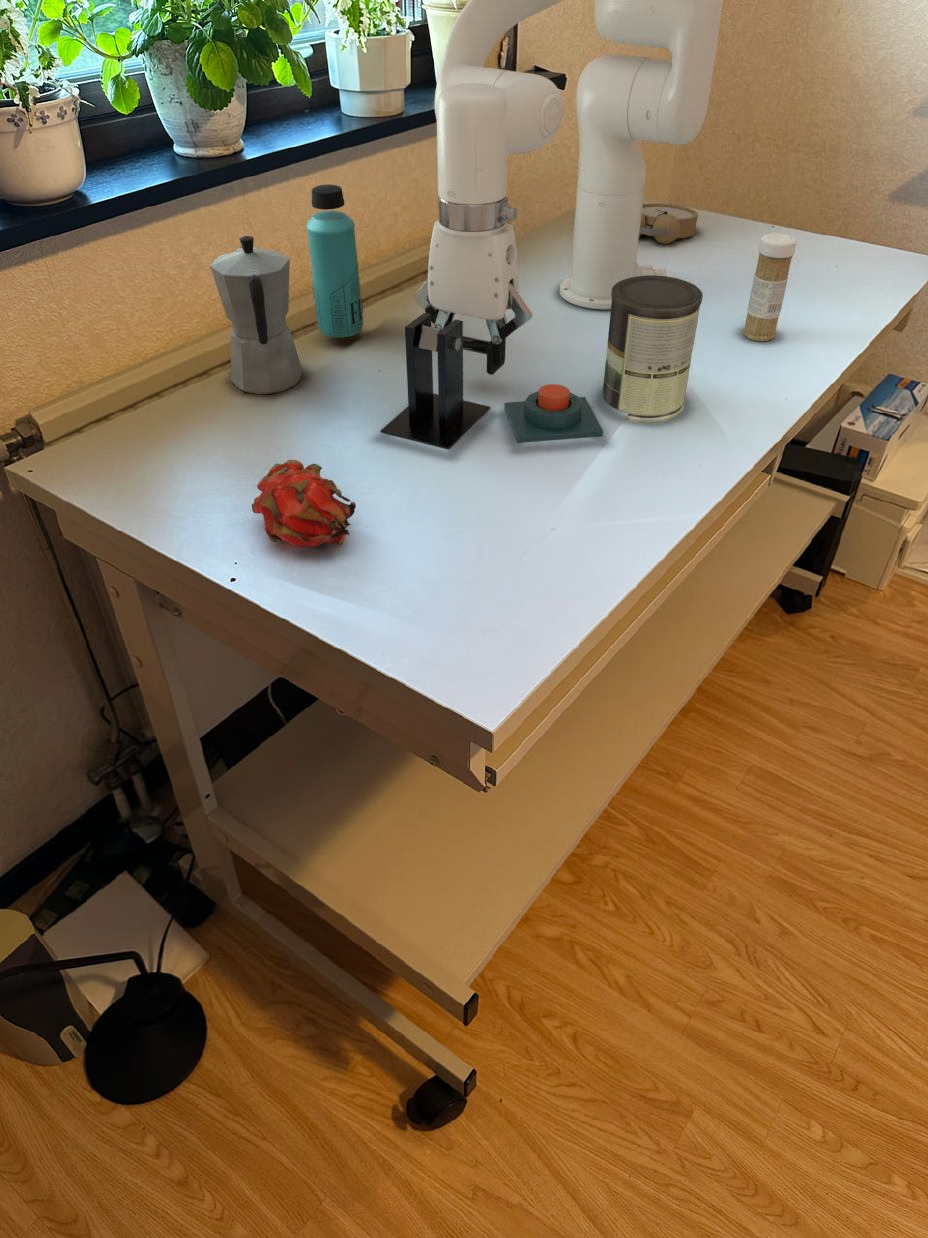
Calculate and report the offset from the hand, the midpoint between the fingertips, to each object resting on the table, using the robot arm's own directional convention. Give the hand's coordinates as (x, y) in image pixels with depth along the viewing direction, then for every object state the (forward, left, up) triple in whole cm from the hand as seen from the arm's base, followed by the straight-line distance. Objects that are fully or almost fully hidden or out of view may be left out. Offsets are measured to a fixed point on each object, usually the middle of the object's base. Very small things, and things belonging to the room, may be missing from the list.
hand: (471, 363), depth 115 cm
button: (-8, +10, -1) cm, 13 cm away
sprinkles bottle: (-43, -11, -4) cm, 44 cm away
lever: (+3, +5, +4) cm, 7 cm away
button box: (-8, +10, -4) cm, 14 cm away
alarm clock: (-42, -54, -4) cm, 68 cm away
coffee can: (-21, +6, -4) cm, 22 cm away
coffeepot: (+25, -7, -4) cm, 27 cm away
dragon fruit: (+21, +28, -4) cm, 36 cm away
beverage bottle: (+15, -19, -4) cm, 25 cm away
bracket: (+5, +8, -4) cm, 10 cm away
